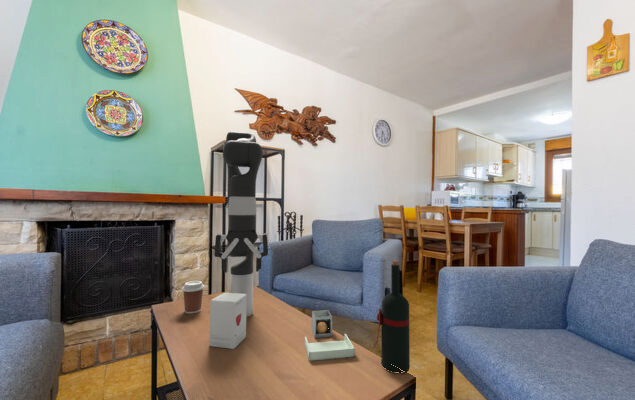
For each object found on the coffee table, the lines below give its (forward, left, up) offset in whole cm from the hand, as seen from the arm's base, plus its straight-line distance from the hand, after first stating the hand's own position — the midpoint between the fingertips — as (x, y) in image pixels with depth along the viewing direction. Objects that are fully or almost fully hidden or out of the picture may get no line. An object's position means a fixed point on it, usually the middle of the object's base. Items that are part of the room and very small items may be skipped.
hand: (241, 271), depth 78 cm
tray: (-7, +26, -27) cm, 39 cm away
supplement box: (-18, -6, -28) cm, 33 cm away
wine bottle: (+4, +42, -28) cm, 51 cm away
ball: (-19, +26, -25) cm, 41 cm away
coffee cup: (-49, -25, -28) cm, 61 cm away
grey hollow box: (-19, +26, -27) cm, 42 cm away
